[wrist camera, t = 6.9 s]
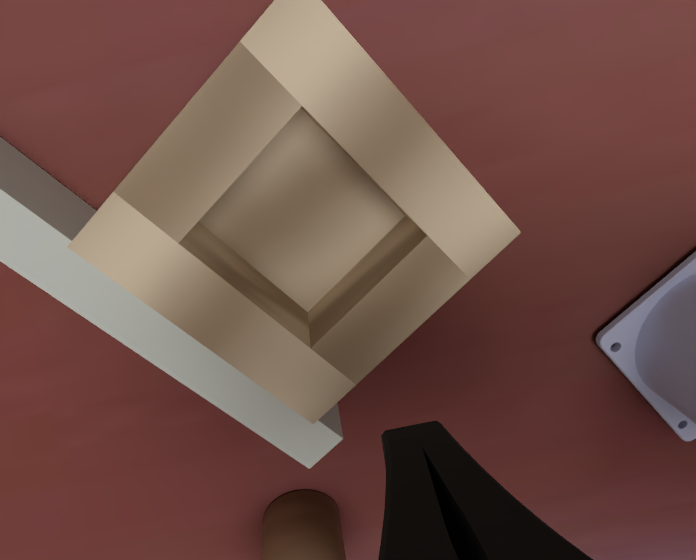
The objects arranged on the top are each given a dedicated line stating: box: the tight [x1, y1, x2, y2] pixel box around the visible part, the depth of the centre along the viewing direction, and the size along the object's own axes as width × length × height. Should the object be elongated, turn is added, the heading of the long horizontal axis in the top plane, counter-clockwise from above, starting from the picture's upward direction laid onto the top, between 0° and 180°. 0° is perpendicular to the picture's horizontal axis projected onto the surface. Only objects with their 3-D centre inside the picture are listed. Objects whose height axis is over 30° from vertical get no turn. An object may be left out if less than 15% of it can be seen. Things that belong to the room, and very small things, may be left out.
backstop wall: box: [0, 137, 343, 469], centre depth 17 cm, size 18×2×3 cm, turn 45°
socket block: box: [67, 0, 521, 424], centre depth 16 cm, size 10×10×4 cm
